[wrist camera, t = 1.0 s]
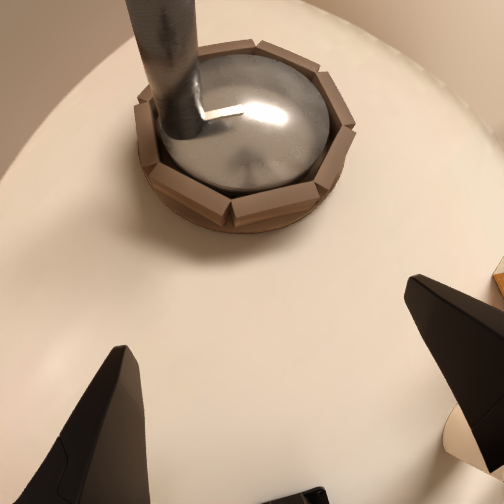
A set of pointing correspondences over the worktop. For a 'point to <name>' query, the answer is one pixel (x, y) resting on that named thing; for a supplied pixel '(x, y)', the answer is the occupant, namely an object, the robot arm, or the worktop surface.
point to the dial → (227, 107)
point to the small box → (500, 276)
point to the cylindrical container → (465, 443)
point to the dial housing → (256, 205)
